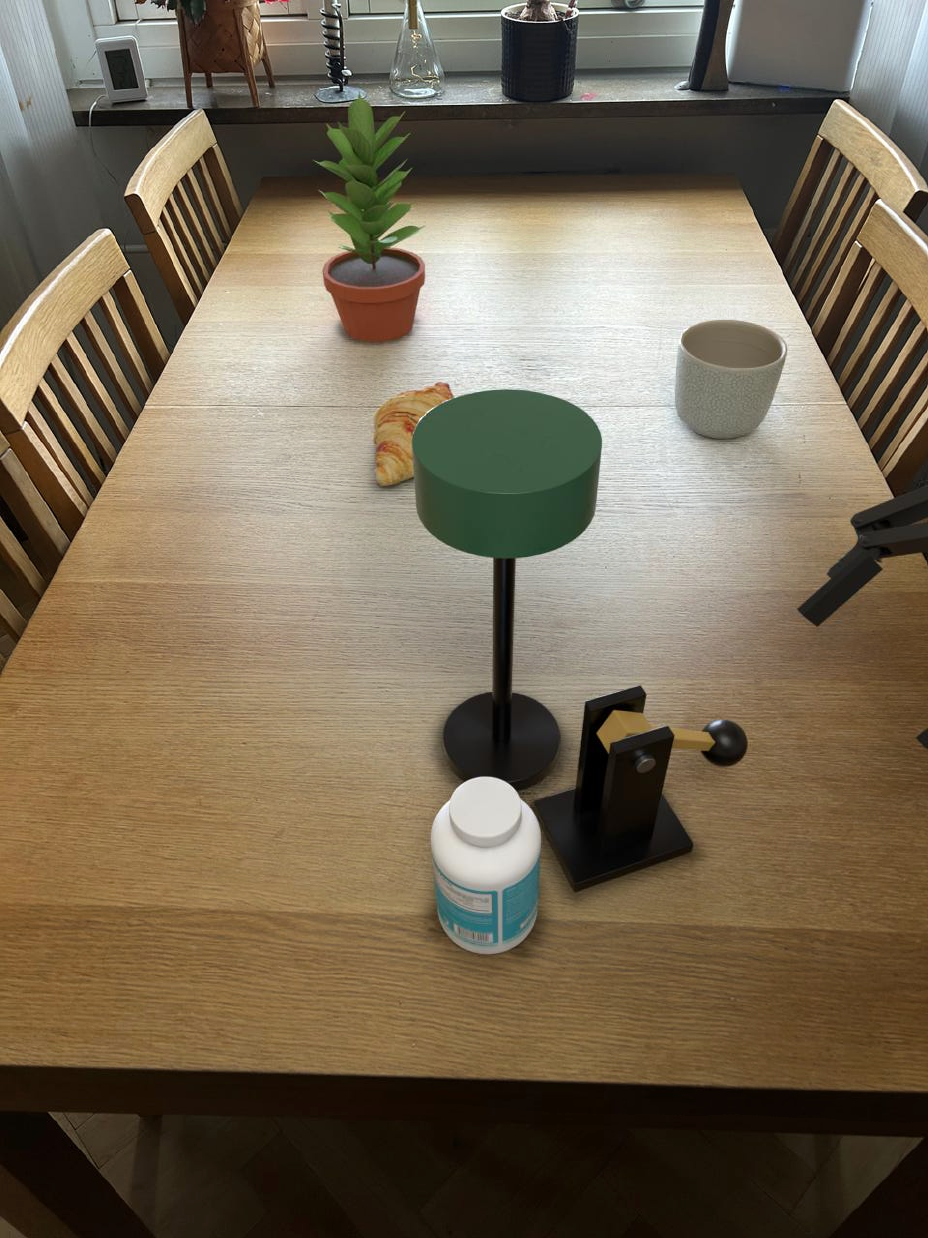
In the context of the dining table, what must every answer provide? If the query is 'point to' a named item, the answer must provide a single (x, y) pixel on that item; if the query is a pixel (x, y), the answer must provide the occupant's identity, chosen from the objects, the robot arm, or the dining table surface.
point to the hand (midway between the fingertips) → (861, 678)
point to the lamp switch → (683, 736)
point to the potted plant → (371, 235)
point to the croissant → (402, 430)
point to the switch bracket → (614, 801)
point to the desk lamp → (505, 545)
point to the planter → (727, 376)
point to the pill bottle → (486, 866)
